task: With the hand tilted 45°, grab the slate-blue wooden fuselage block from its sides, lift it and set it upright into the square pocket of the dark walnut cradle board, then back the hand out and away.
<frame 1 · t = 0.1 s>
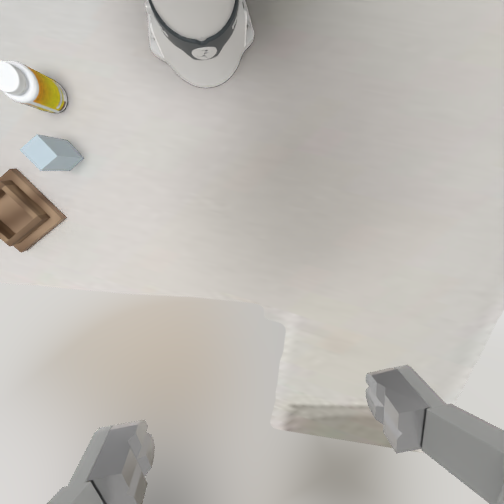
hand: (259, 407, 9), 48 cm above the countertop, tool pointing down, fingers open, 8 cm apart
fuselage block: (68, 155, 48), on the countertop
supplement bottle: (53, 97, 44), on the countertop
cradle board: (21, 211, 50), on the countertop
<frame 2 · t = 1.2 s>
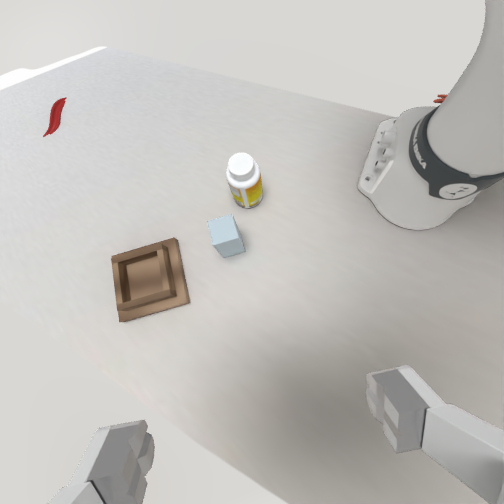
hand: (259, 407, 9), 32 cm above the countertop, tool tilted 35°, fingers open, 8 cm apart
fuselage block: (231, 244, 44), on the countertop
cayenne pepper: (59, 119, 57), on the countertop
supplement bottle: (248, 196, 46), on the countertop
cradle board: (152, 279, 44), on the countertop
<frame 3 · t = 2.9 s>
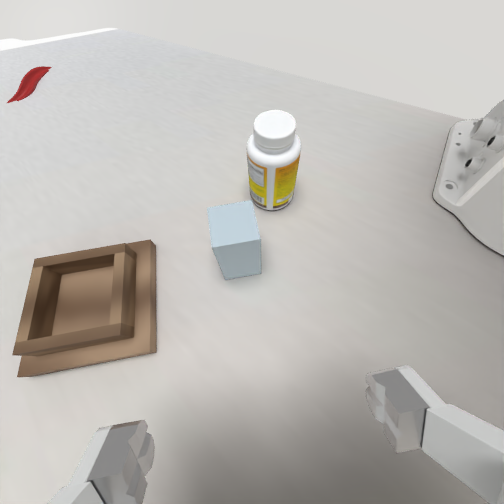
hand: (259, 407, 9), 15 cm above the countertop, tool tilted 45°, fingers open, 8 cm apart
fuselage block: (240, 260, 28), on the countertop
cayenne pepper: (34, 88, 45), on the countertop
supplement bottle: (271, 195, 32), on the countertop
cradle board: (100, 303, 26), on the countertop
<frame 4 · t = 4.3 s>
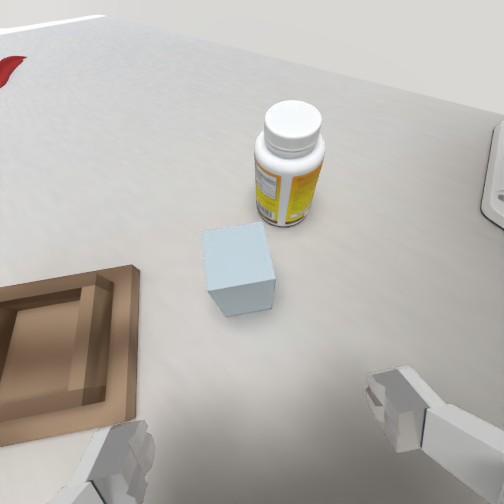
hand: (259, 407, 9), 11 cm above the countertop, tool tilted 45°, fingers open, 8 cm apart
fuselage block: (245, 291, 22), on the countertop
cayenne pepper: (7, 80, 39), on the countertop
supplement bottle: (282, 207, 26), on the countertop
cradle board: (66, 348, 20), on the countertop
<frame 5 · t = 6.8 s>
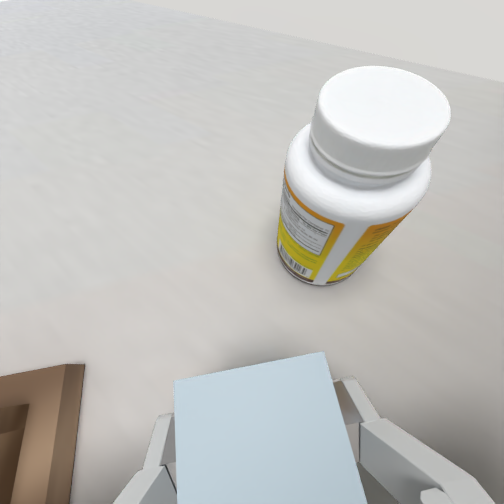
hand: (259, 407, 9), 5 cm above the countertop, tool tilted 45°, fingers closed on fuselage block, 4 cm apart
fuselage block: (262, 408, 13), on the countertop, touching gripper
supplement bottle: (315, 250, 17), on the countertop
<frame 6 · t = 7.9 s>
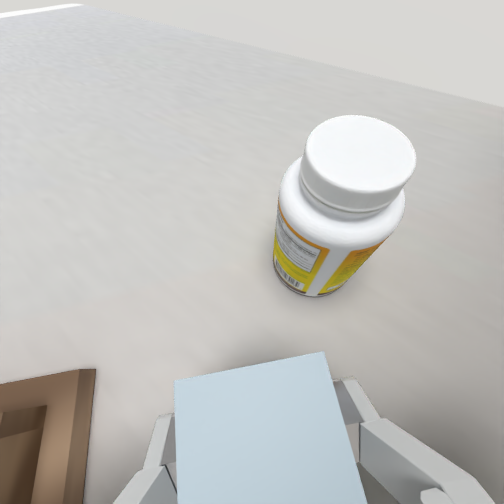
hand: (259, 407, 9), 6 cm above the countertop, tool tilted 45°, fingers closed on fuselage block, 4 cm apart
fuselage block: (262, 408, 13), point 1 cm above the countertop, touching gripper
supplement bottle: (308, 263, 18), on the countertop
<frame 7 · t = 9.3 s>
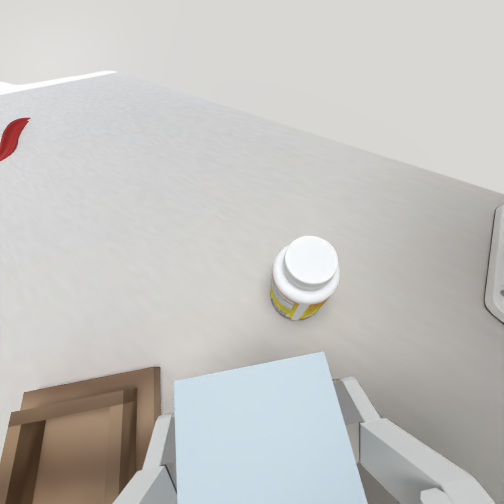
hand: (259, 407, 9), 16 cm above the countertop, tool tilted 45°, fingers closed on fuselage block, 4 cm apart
fuselage block: (262, 408, 13), point 12 cm above the countertop, touching gripper
cayenne pepper: (15, 143, 41), on the countertop
supplement bottle: (294, 296, 27), on the countertop
cradle board: (92, 454, 21), on the countertop
when the fingers open (8 cm above the countertop, at t = 13.1 s): fuselage block drops 1 cm, resting on cradle board.
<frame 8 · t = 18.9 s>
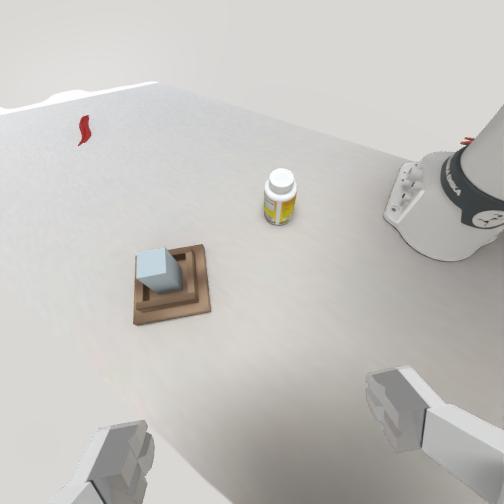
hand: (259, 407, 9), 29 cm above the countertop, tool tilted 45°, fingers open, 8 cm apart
fuselage block: (170, 281, 41), point 1 cm above the countertop, touching cradle board
cayenne pepper: (87, 132, 61), on the countertop
supplement bottle: (278, 214, 48), on the countertop
cradle board: (173, 284, 42), on the countertop
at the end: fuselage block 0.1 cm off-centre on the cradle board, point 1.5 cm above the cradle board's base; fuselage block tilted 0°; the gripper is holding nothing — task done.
